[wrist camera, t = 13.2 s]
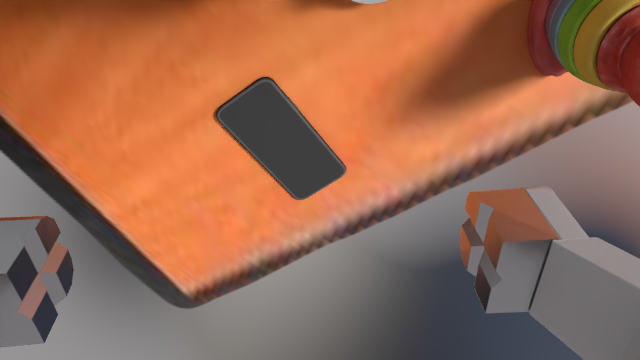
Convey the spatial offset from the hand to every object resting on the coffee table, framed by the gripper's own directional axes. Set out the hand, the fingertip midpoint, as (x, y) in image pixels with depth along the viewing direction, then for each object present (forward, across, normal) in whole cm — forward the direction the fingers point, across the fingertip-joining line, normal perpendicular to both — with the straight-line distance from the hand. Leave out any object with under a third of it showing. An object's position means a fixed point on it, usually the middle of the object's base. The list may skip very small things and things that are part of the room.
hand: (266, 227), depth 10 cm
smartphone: (+40, +1, +21) cm, 45 cm away
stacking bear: (+39, -28, +8) cm, 49 cm away
